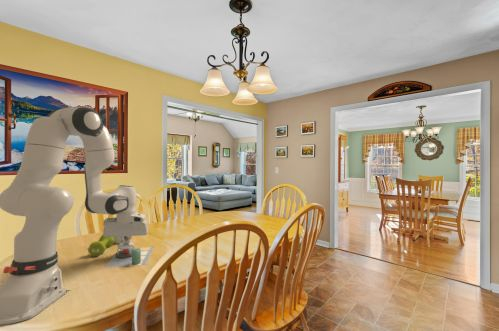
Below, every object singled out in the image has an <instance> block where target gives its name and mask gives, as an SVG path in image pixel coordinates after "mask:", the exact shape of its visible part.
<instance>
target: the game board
mask: <svg viewBox="0 0 499 331" xmlns="http://www.w3.org/2000/svg"><path fill="white" fill-rule="evenodd" d="M134 249H141V263H140V264H137V265H132V250H133V247H132V248H131V253H130V248H129V249H122V250H121V249H119V254H117V252H115V255H114V256H113V257H112V258H111V260H110V261H109V262H108V263H107V264H106V265H104V268H117V267H133V266H134V267H135V266H145V265H146V264H147V262H148V261H149V258H150V256H151V255H152V252H153V250H154V249H155V247H154V246H147V247H146V246H145V247H134Z"/></svg>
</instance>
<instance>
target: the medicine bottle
mask: <svg viewBox="0 0 499 331" xmlns="http://www.w3.org/2000/svg"><path fill="white" fill-rule="evenodd" d="M114 239H115V241H114V242H113V244H117V245H119V244H121V243H123V242H122V241H121V239H120V237H114ZM124 240H129V238H128V236H124Z"/></svg>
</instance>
